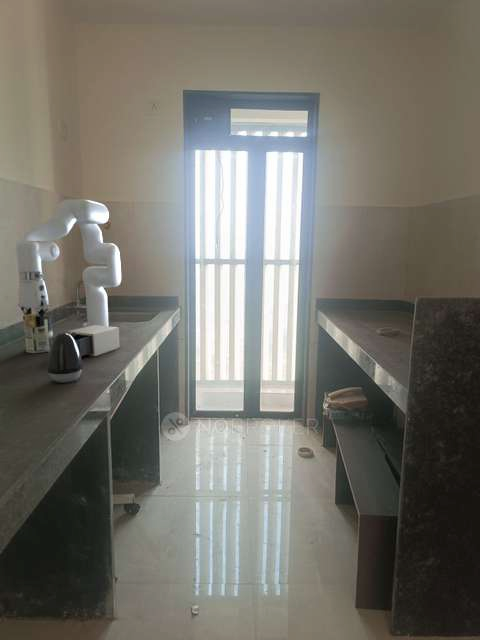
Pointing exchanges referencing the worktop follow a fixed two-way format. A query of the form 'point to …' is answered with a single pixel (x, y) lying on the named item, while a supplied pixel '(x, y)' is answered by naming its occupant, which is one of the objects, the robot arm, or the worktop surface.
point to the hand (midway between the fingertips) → (35, 325)
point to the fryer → (100, 338)
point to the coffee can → (39, 336)
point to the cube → (30, 320)
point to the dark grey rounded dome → (64, 359)
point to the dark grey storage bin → (81, 344)
